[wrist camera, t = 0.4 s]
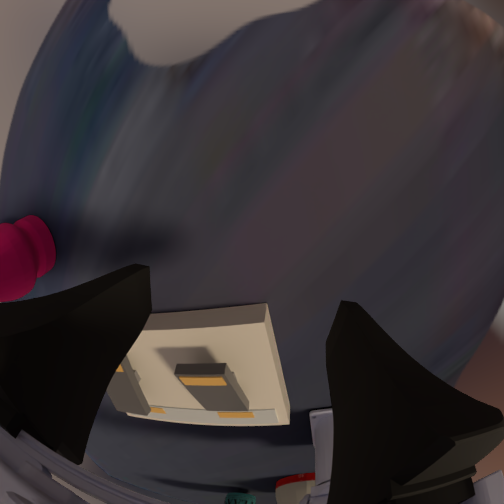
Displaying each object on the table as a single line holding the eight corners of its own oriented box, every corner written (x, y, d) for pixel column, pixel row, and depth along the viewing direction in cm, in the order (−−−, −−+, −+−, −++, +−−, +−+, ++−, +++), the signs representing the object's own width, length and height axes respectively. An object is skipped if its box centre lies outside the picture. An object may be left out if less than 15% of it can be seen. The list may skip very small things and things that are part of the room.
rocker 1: (151, 409, 23) (146, 416, 22) (121, 405, 24) (116, 411, 23) (125, 352, 22) (119, 358, 21) (95, 350, 23) (89, 355, 22)
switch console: (290, 406, 27) (289, 428, 24) (135, 401, 30) (126, 418, 27) (266, 302, 21) (263, 327, 19) (81, 316, 25) (66, 333, 22)
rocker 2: (249, 401, 23) (248, 412, 22) (208, 401, 23) (206, 411, 22) (226, 362, 19) (224, 375, 18) (176, 363, 20) (173, 375, 19)
